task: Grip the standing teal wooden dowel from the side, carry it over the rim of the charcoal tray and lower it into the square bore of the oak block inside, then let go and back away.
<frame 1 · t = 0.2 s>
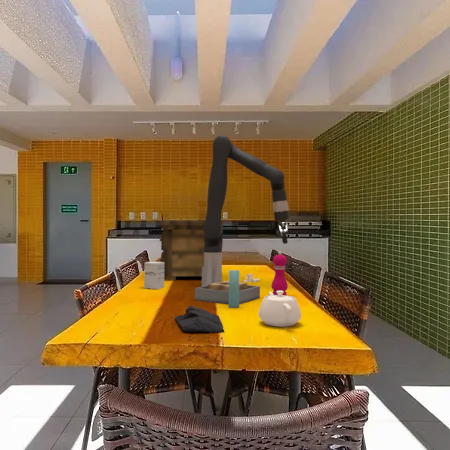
hand: (285, 242, 219), 22 cm above the table, tool pointing down, fingers open, 8 cm apart
bore block: (227, 290, 187), in the tray, point 4 cm above the table
white marbled block: (154, 288, 215), on the table
pepper mill: (279, 296, 195), on the table
crate: (189, 277, 257), on the table
dark gray crumpled cloth: (199, 326, 141), on the table
teapot: (279, 323, 145), on the table
tray: (227, 298, 188), on the table
teacup and saucer: (251, 283, 240), on the table
peg: (233, 306, 171), on the table
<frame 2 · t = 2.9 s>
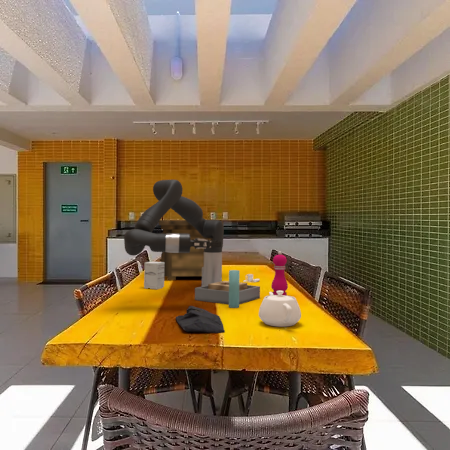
hand: (219, 243, 172), 24 cm above the table, tool horizontal, fingers open, 8 cm apart
nothing on the table moved.
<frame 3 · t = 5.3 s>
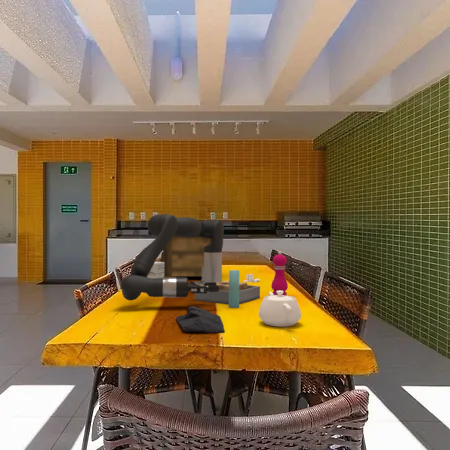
hand: (217, 286, 170), 8 cm above the table, tool horizontal, fingers open, 8 cm apart
nothing on the table moved.
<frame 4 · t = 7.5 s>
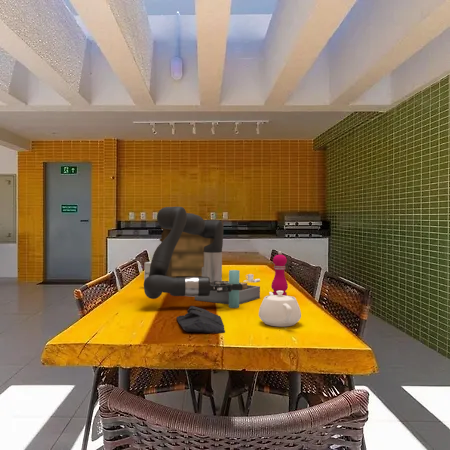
hand: (241, 286, 171), 8 cm above the table, tool horizontal, fingers closed on peg, 4 cm apart
peg: (233, 306, 171), on the table, touching gripper
everything else where it was.
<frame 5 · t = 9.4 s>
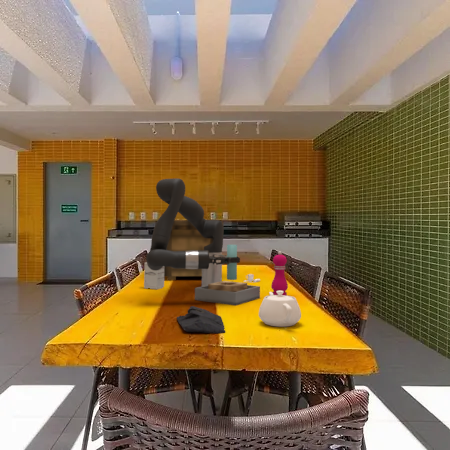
hand: (238, 259, 180), 17 cm above the table, tool horizontal, fingers closed on peg, 4 cm apart
peg: (231, 279, 180), point 9 cm above the table, touching gripper
everything else where it was.
when the fingers open (12 cm above the table, at t = 11.6 s): peg drops 1 cm, resting on bore block.
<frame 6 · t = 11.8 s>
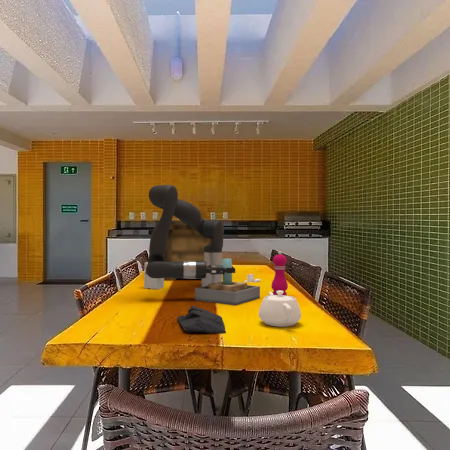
hand: (233, 269, 188), 12 cm above the table, tool horizontal, fingers open, 6 cm apart
peg: (227, 291, 187), point 3 cm above the table, touching bore block
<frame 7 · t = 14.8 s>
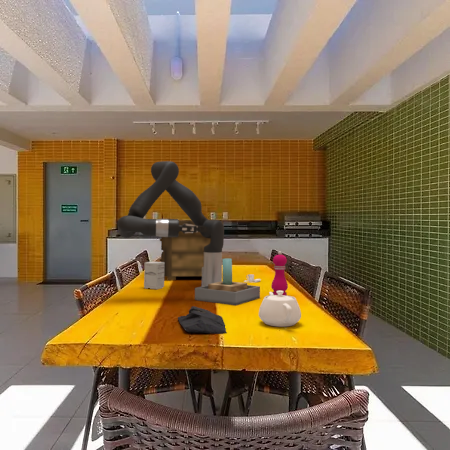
hand: (206, 228, 186), 30 cm above the table, tool horizontal, fingers open, 8 cm apart
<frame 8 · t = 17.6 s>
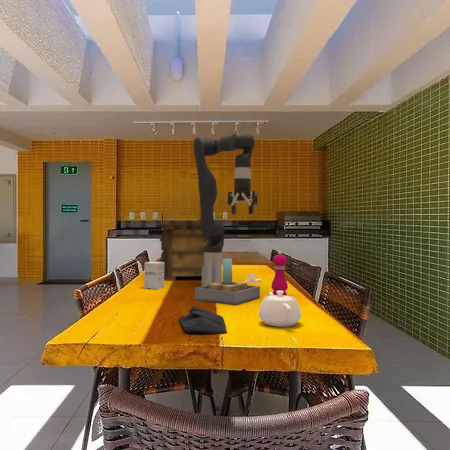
hand: (242, 214, 199), 36 cm above the table, tool pointing down, fingers open, 8 cm apart
at the end: peg 0.1 cm off-centre on the bore block, point 3.1 cm above the bore block's base; peg tilted 2°; the gripper is holding nothing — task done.
